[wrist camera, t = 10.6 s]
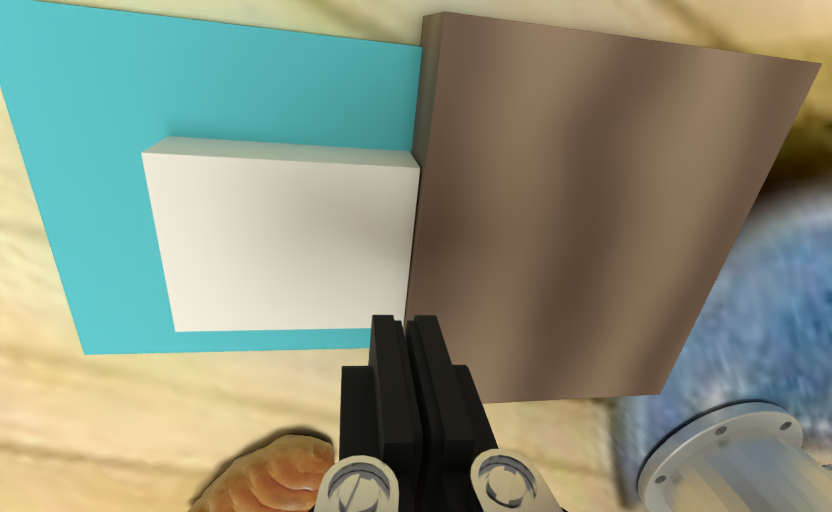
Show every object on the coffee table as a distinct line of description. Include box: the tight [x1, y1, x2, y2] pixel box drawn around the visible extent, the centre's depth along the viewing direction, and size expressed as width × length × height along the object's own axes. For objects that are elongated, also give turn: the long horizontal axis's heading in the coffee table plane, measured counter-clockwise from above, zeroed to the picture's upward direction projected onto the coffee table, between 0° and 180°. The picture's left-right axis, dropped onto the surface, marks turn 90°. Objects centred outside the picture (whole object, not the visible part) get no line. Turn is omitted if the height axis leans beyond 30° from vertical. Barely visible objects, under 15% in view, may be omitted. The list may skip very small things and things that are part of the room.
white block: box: [141, 136, 420, 332], centre depth 17 cm, size 9×7×2 cm
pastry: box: [188, 435, 335, 512], centre depth 24 cm, size 9×7×4 cm
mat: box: [0, 0, 422, 355], centre depth 17 cm, size 14×14×1 cm
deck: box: [403, 12, 822, 404], centre depth 19 cm, size 14×16×4 cm
